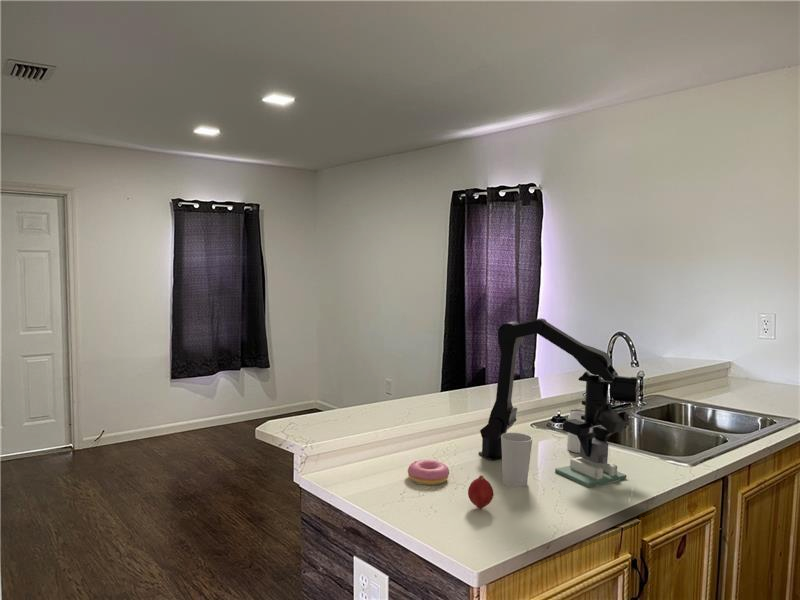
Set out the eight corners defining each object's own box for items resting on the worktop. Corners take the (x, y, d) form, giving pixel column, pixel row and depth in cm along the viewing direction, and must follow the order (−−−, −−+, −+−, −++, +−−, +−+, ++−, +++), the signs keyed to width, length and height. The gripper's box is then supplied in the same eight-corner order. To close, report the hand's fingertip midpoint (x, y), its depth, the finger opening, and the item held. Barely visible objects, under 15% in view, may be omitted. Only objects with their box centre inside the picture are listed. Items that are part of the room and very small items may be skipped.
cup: (532, 479, 156) (534, 434, 155) (528, 490, 148) (530, 443, 148) (502, 475, 158) (503, 431, 158) (496, 485, 151) (498, 439, 150)
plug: (599, 464, 156) (600, 446, 155) (579, 456, 162) (580, 438, 161) (610, 462, 158) (611, 444, 157) (590, 454, 164) (591, 436, 163)
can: (590, 454, 177) (592, 415, 176) (567, 452, 178) (569, 413, 178) (587, 448, 183) (589, 410, 183) (566, 446, 185) (567, 408, 184)
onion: (465, 503, 139) (466, 470, 139) (489, 503, 140) (490, 470, 139) (470, 514, 134) (471, 479, 133) (495, 513, 134) (496, 479, 134)
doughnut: (401, 474, 158) (401, 459, 157) (438, 470, 162) (439, 455, 161) (416, 489, 148) (417, 473, 147) (456, 484, 152) (457, 468, 151)
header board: (588, 487, 151) (589, 474, 151) (555, 472, 162) (555, 459, 161) (626, 478, 158) (627, 465, 158) (591, 464, 168) (592, 452, 168)
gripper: (595, 409, 147) (591, 470, 148) (645, 401, 156) (641, 459, 158) (562, 399, 157) (559, 456, 158) (611, 393, 166) (608, 447, 167)
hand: (593, 455), depth 160 cm, fingers closed on plug, 4 cm apart
